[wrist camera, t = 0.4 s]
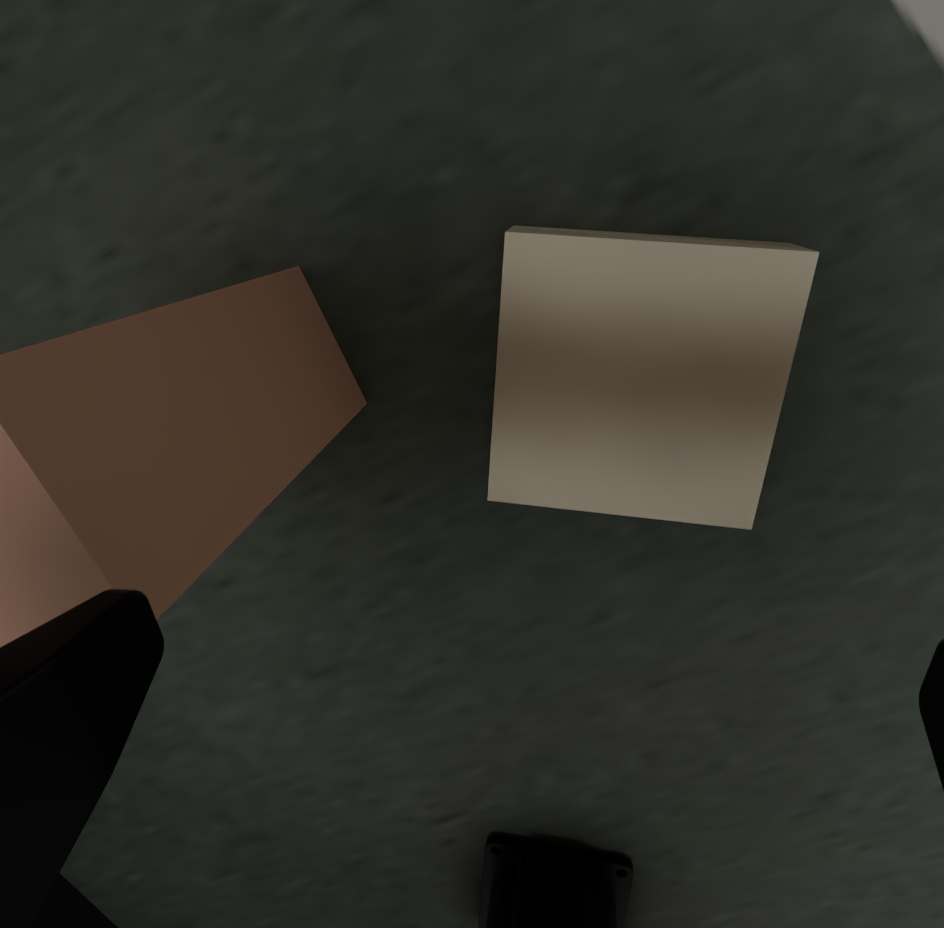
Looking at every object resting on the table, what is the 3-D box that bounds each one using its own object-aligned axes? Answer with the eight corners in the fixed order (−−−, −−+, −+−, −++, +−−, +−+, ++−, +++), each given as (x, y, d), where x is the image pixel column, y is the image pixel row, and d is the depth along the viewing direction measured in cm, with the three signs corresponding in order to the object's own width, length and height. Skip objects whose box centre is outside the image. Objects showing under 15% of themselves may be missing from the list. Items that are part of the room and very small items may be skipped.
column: (367, 403, 23) (143, 633, 12) (250, 449, 25) (-57, 697, 13) (298, 265, 22) (-39, 367, 10) (178, 323, 23) (-242, 471, 11)
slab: (731, 487, 23) (751, 529, 20) (497, 463, 24) (487, 500, 21) (786, 241, 20) (819, 251, 17) (514, 224, 21) (505, 231, 18)
